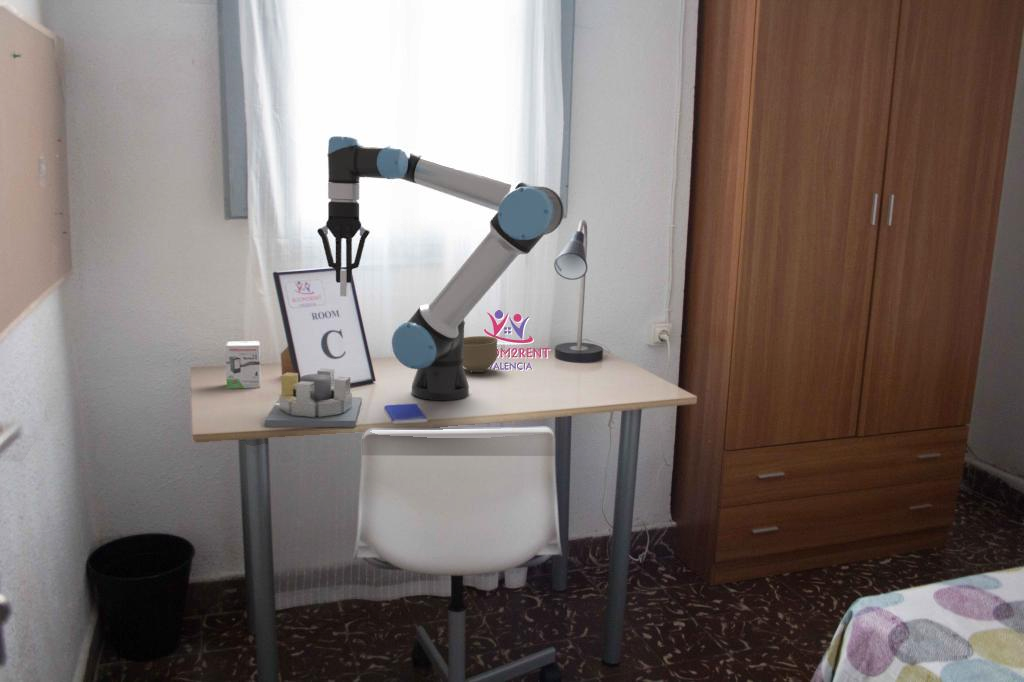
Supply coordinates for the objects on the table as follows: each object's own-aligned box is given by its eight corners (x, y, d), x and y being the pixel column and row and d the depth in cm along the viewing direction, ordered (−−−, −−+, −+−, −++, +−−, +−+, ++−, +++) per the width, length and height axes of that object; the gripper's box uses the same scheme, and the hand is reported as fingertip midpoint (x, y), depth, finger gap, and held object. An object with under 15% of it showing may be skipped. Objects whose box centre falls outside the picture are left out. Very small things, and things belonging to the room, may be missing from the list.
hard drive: (427, 417, 193) (417, 403, 205) (393, 419, 191) (384, 405, 202) (427, 424, 194) (416, 409, 205) (393, 425, 191) (384, 411, 203)
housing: (361, 402, 207) (361, 368, 205) (355, 427, 187) (355, 389, 185) (280, 402, 204) (279, 367, 203) (265, 426, 185) (264, 388, 183)
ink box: (226, 389, 214) (225, 345, 212) (227, 384, 219) (226, 341, 216) (260, 388, 217) (259, 344, 214) (260, 383, 221) (259, 340, 219)
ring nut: (297, 395, 204) (297, 366, 203) (358, 400, 202) (358, 371, 200) (270, 413, 189) (270, 381, 187) (336, 418, 187) (336, 387, 185)
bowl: (453, 366, 250) (454, 334, 248) (495, 367, 251) (496, 335, 249) (454, 376, 237) (455, 342, 235) (498, 377, 239) (499, 343, 237)
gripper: (371, 201, 206) (370, 294, 211) (318, 199, 205) (319, 292, 209) (369, 202, 199) (368, 298, 204) (314, 200, 197) (315, 297, 202)
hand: (343, 295), depth 207 cm, fingers closed
